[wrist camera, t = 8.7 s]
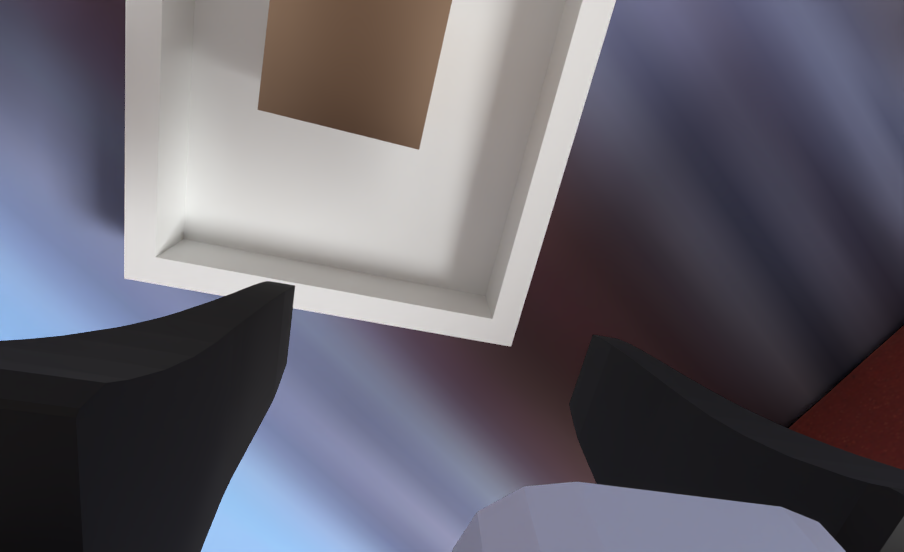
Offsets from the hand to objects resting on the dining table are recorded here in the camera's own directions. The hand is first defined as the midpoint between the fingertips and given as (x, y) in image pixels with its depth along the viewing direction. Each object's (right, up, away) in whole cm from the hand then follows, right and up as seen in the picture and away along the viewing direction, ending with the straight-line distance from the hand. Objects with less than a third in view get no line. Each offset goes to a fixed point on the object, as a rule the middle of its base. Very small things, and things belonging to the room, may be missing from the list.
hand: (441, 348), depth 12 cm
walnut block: (-2, +9, +6) cm, 11 cm away
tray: (-2, +10, +6) cm, 12 cm away
